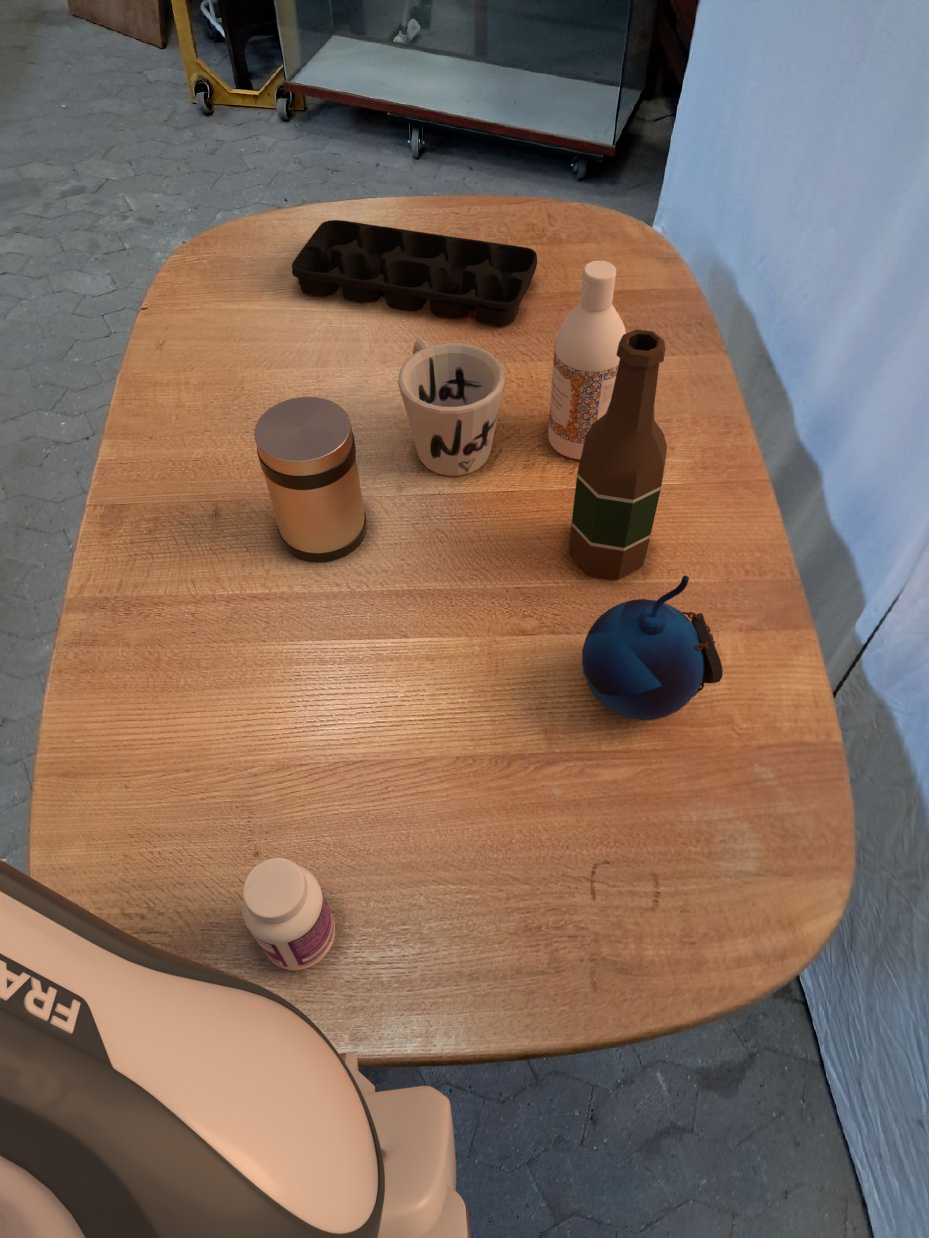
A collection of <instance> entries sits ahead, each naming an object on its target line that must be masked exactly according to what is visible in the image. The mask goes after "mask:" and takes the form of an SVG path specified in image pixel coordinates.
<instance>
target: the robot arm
mask: <svg viewBox="0 0 929 1238" xmlns="http://www.w3.org/2000/svg"><path fill="white" fill-rule="evenodd" d="M452 1115H453V1114H452V1106H451V1101H450V1099H449V1098H448V1096H446V1095H445V1094H443V1093H442V1092H441V1091H440V1090H438V1089H436V1088H434V1086H430V1085H420V1086H412V1087H405V1088H404V1087H403V1088H397V1089H389V1090H382V1091H376V1086H375V1085H374V1084H373V1083H372V1082H371V1081H370V1080H369V1079H368V1078H366V1076H364V1074H362V1073H361V1072H360V1071H359V1063H358V1055H357V1051H355V1050H354V1051H347V1052H341V1053H339V1052H338V1050H337V1049H336V1048H335V1046H334V1045H333V1043H331V1041H330V1040H329V1038H328V1037H327V1036H326V1035H325V1034H324V1033H323V1032H322V1030H321V1029H320V1027H318V1026H317V1025H316V1024H315V1023H314V1022H313V1020H311V1019H310V1018H309V1017H308V1016H307V1015H306V1014H305V1013H304V1012H303V1011H301V1010H300V1009H299V1008H298V1007H296V1006H295V1005H294V1004H292V1002H289V1000H286V999H285V998H284V997H282V996H280V995H278V994H277V993H275V992H273V991H271V990H269V989H267V988H265V987H263V986H261V985H259V984H257V983H255V982H252V981H250V980H248V979H245V978H243V977H240V976H238V975H236V974H233V973H230V972H227V971H224V970H221V969H218V968H216V967H214V966H211V965H207V964H204V963H201V962H198V961H195V960H192V959H190V958H189V959H188V958H186V957H183V956H180V955H177V954H174V953H172V952H169V951H168V950H167V951H166V950H164V949H162V948H159V947H157V946H155V945H153V944H150V943H148V942H146V941H144V940H141V939H140V938H137V937H136V936H134V935H132V934H130V933H128V932H126V931H124V930H122V929H121V928H119V927H117V926H115V925H114V924H111V923H110V922H108V921H106V920H105V919H103V918H101V917H99V916H98V915H96V914H94V913H92V912H91V911H89V910H87V909H85V908H84V907H82V906H81V905H79V904H77V903H75V902H74V901H72V900H70V899H69V898H67V897H65V896H63V895H62V894H60V893H58V892H57V891H55V890H53V889H51V888H50V887H48V886H46V885H44V884H43V883H41V882H39V881H38V880H36V879H34V878H33V877H31V876H29V875H27V874H26V873H24V872H23V871H20V870H19V869H17V868H15V867H14V866H12V865H10V864H9V863H7V862H6V861H4V860H3V859H0V1238H472V1237H471V1226H470V1225H471V1224H470V1213H469V1209H468V1206H467V1204H466V1202H465V1200H464V1199H463V1197H462V1196H461V1195H460V1194H459V1193H458V1192H457V1158H456V1146H455V1133H454V1122H453V1116H452Z"/></svg>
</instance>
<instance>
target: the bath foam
mask: <svg viewBox="0 0 929 1238" xmlns="http://www.w3.org/2000/svg"><path fill="white" fill-rule="evenodd" d="M616 278H617V268H616V266H615V265H614V264H612V263H611V262H610V261H609V262H608V261H606V260H592V261H590V262H588V263H587V264H585V265H584V267H583V270H582V279H581V280H582V281H581V289H580V301H579V302H578V303H577V304H576V305H575V306H574V307H573V309H571V310H570V312H569V313H568V314H567V315H566V317H565V318H564V319H563V321H562V323H561V325H560V326H559V329H558V331H557V334H556V337H555V343H554V349H553V361H552V372H551V373H552V374H551V375H552V376H551V386H550V387H551V389H550V400H549V414H548V429H547V438H548V441H549V443H550V445H551V446H552V448H553V449H554V450H555V451H556V452H557V453H559V454H560V455H562V456H564V457H566V458H569V459H572V460H573V459H574V460H580V459H581V454H582V450H583V446H584V441H585V437H586V434H587V433H588V431H589V429H590V428H591V426H592V425H593V423H594V422H596V421H597V420H598V419H600V418H601V417H602V416H603V415H605V414H606V412H607V409H608V406H609V404H610V401H611V397H612V393H613V388H614V383H615V379H616V374H617V370H618V365H619V361H620V358H619V357H618V356H617V355H616V354H617V350H618V345H619V342H620V340H621V338H622V336H623V335H624V334H626V333H627V331H626V327H625V325H624V322H623V320H622V318H621V316H620V315H619V313H618V311H617V310H616V308H615V306H614V304H613V299H614V292H615V284H616Z"/></svg>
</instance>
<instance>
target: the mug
mask: <svg viewBox="0 0 929 1238" xmlns="http://www.w3.org/2000/svg"><path fill="white" fill-rule="evenodd" d="M397 378H398V380H397V384H398V388H399V392H400V395H401V398H402V403H403V406H404V409H405V414H406V416H407V420H408V423H409V428H410V431H411V434H412V438H413V441H414V445H415V448H416V451H417V455H418V458H419V460H420V461H421V463H422V464H423V465H424V466H425V468H426V469H428V470H430V471H432V472H433V473H435V474H439V475H442V476H446V477H452V476H453V477H459V476H464V475H469V474H471V473H473V472H476V471H478V470H479V469H480V468H481V467H482V466H484V465H485V464H486V463H487V461H488V458H489V457H490V455H491V453H492V452H491V451H492V446H493V441H494V437H495V434H496V433H495V432H496V428H497V423H498V418H499V413H500V409H501V404H502V399H503V394H504V390H505V385H506V372H505V370H504V368H503V366H502V364H501V361H500V360H499V359H498V358H497V357H496V356H494V355H493V354H492V352H490V351H488V350H486V349H483V348H481V347H479V346H477V345H472V344H468V343H465V342H464V343H463V342H462V343H461V342H444V343H439V344H438V343H437V344H433V345H429V343H428V342H427V341H426V340H425V339H421V338H420V339H417V340H415V341H414V342H413V346H412V354H411V356H409V357H408V358H407V359H405V360H404V363H403V364H402V366H401V367H400V368H399V372H398V377H397Z"/></svg>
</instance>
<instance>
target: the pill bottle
mask: <svg viewBox="0 0 929 1238" xmlns="http://www.w3.org/2000/svg"><path fill="white" fill-rule="evenodd" d="M241 913H242V918H243V921H244V923H245V926H246V927H247V930H248V931H249V932H250V934H251V936H252V937H253V938H254V940H255V941H256V943H257V944H258V945H259V948H261V950H262V951H263V953H264V955H265V956H266V957H267V958H268V960H269V961H271V962H272V963H273V964H274V965H275V966H277V967H279V968H281V969H284V970H288V971H301V970H305V969H309V968H311V967H313V966H315V965H316V964H318V963H319V962H320V961H322V960H323V958H324V957H326V955H327V953H329V951H330V949H331V948H332V945H333V944H334V941H335V935H336V924H335V918H334V916H333V912H332V911H331V908H330V906H329V903H328V902H327V899H326V897H325V894H324V892H323V889H322V887H321V884H320V882H319V881H318V879H317V878H316V877H315V875H313V873H312V872H310V871H309V869H307V868H305V867H303V866H302V865H299V864H297V863H295V862H294V861H292V860H290V859H287V858H284V857H271V858H268V859H265V860H263V861H260V862H259V863H258V864H256V865H255V866H254V867H253V868H251V870H250V871H249V873H248V874H247V876H246V877H245V879H244V882H243V887H242V900H241Z"/></svg>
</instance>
